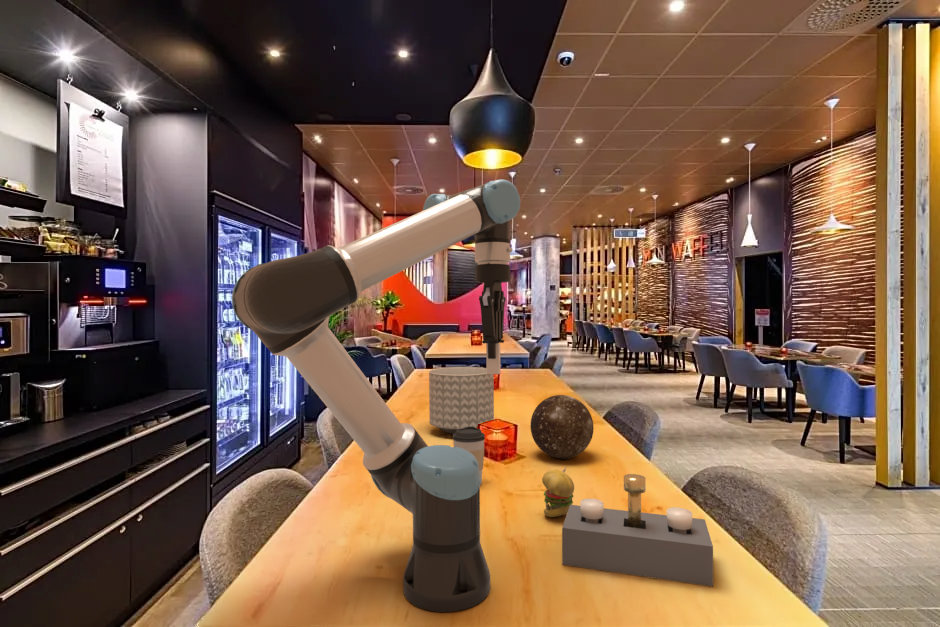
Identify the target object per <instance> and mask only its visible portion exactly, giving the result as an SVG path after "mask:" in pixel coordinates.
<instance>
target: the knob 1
mask: <svg viewBox="0 0 940 627" xmlns="http://www.w3.org/2000/svg"><path fill="white" fill-rule="evenodd" d="M580 506H581V516H582V517H584V518H586V522H590V523H598V519H601V518H603V516H604V510H603V508H604V502H603V501H602V500H600V499H597V498H584V499H581V500H580Z"/></svg>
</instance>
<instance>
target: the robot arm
mask: <svg viewBox="0 0 940 627" xmlns="http://www.w3.org/2000/svg"><path fill="white" fill-rule="evenodd" d="M422 207H423V208H422V211H420V212H417V213H415V214H413V215H411V216H410V215H409V217H406V218H403V219H402V220H399V221H397V222H395V223H391V224H390V225H388V226H385V227H383V228H381V229H378V230H377V231H374V232H372V233H369V234H367V235H365V236H363V237H360V238H358V239H355V240H354V241H351V242H348V243H347V244H345V245H342V246H340V247H336V246H333V245H331V244H327V245H325V246H323V247H321V248H318V249H316V250H313V251H310V252H307V253H303V254H300V255H295V256H292V257H291V256H289V257H285V258H281V259H280V258H279V259H275V260H274V259H273V260H271V261H269V262H268V261H267V262H264V263H259V264H256V265H254V266H252V267H249V268H248V269H247V270H246V271H245V272H244V273H242V274H241V276H240V277H239V278H238V279H237V281H236V283H235V284H234V287H233V290H232V293H231V294H232V295H231V305H232V309H233V311H234V314H235V316H236V317H237V319H238V321H239V322H240V323H241V324H242V325H243V326H245V327H246V328H248V329H249V330H252V332H254V334H255V335H256V336H257V338H258V339H259V340H260V341H261V342H262V343H263V345H264V346H265V347H266V349H267V350H268V351H269V352H270V354H272V355H273V356H278V357H279V356H280V357H286V358H287V359H288V360H289V362H290V363H291V364H292V366H294V368H295V370H297V372H298V373H299V374H300V375H301V377H302V378H303V379H304V381H305V382H306V383H307V384H308V385H309V387H310V388H311V389H312V390H313V392H314V393H315V394H316V395H317V396H318V398H319V399H320V400H321V401H322V402H323V404H324V405H325V407H326V408H327V409H328V410H329V412H330V413H331V414H333V416H334V417H335V418H336V420H337V421H338V423H340V425H341V427H343V428H344V429H345V431H346V432H347V433H348V434H349V435H350V437H351V439H352V440H353V441H354V443H356V444H357V446H358V448H360V449H361V451H362V452H363V458H362V465H363V466H364V468H365V469H366V470H367V471H368V473H369V474H370V477H371V479H372V482H373V484H374V485H375V487H376V489H378V491H380V493H381V494H382V495H384V496H386V497H387V498H389V499H390V500H392V501H394V502H396V503H397V504H399V505H400V506H402V507H403V508H404V509H405V510H406V511H408V512H409V513H411V515H412V547H411V551H410V553H409V556H408V560H407V563H406V565H405V570H404V572H403V577H402V586H403V588H402V589H403V591H402V592H403V595H404V597H405V599H406V601H408V602H409V603H411V604H412V605H414V606H416V607H417V608H420V609H423V610H426V611H430V612H438V613H450V612H451V613H452V612H458V611H459V612H460V611H463V610H467V609H469V608H473V607H475V606H477V605H478V604H480V603H482V602H483V601H484V600H485V599H486V598H487V596H489V594H490V591H491V572H490V569H489V566H488V563H487V559H486V557H485V553H484V551H483V548H482V545H481V532H480V531H481V512H480V510H481V507H480V506H481V502H480V501H481V500H480V499H481V498H480V496H481V494H480V493H481V492H480V491H481V490H480V488H481V485H480V483H481V479H480V473H479V464H478V461H477V459H476V458H475V456H474V455H473V454H471V453H470V452H468V451H467V450H465V449H462V448H459V447H454V446H451V445H449V444H448V445H447V444H434V445H433V444H432V445H428V444H427V443H426V441H425V440H424V439H423V437H422V436H421V435H420V434H419V431H417V430H416V428H415V427H414V426H413V425H412V424H411V423H408V422H405V423H404V422H402V423H401V422H400V421H399V419H398V417H397V416H396V415H395V414H394V412H393V411H392V410H391V408H390V407H389V406H388V405H387V404H386V402H385V400H384V399H383V398H382V397H381V395H380V394H379V392H377V390H376V389H375V387H374V386H373V385H372V383H371V382H370V381H369V378H367V376H366V375H365V374H364V372H363V371H362V370H361V369H360V367H359V366H358V364H356V362H355V361H354V359H353V358H352V357H351V356H350V354H349V353H348V351H347V350H346V349H345V347H344V345H342V344H341V342H340V340H338V338H337V336H336V335H335V334H334V333H333V331H332V330H331V329H330V327H329V321H330V316H332V315H334V314H337V312H339V311H341V310H343V309H345V308H346V307H348V306H350V305H352V304H354V303H356V302H358V300H359V298H360V294H361V292H363V291H366V290H367V289H369V288H371V287H373V286H375V285H377V284H379V283H381V282H383V281H385V280H387V279H389V278H391V277H393V276H395V275H397V274H399V273H401V272H402V271H404V270H406V269H409V268H410V267H413V266H414V265H417V264H418V263H421V262H423V261H424V260H427V259H428V258H430V257H432V256H434V255H436V254H438V253H441V252H442V251H444V250H446V249H448V248H451V247H453V246H454V245H456V244H458V243H460V242H462V241H463V240H466V239H468V238H470V237H472V236H474V241H475V242H474V243H475V244H474V261H475V262H474V263H476V264H477V265H476V266H475V274H474V275H475V276H474V277H475V282H476V283H479V284H483V289H482V291H481V295H479V296H478V297H479V298H478V300H479V306H480V314H481V315H480V316H481V327H482V339H483V340H482V341H481V343H482V344H485V345H486V350H485V351H486V366H485V368H487V374H494V375H500V374H501V344H504V343H505V339H504V323H505V321H504V320H505V307H506V301H507V298H506V296H505V293H504V290H503V287H502V283H503V284H504V283H508V282H510V281H511V266H510V265H509V263H510V262H511V254H510V253H512V252H513V248H512V247H510V246H511V220H514V219H515V217H517V215H518V213H519V212H520V209H521V196H520V192H519V191H518V188H517V187H516V186H515V184H514V183H513V182H511V181H510V180H507V179H503V178H502V179H496V180H490V181H488V182H486V183H484V184H481V185H478V186H475V187H472V188H469V189H466V190H462V191H460V192H457V193H454V194H445V193H432V194H430V195H429V196H428V197H427V198H426V200H425V202H424V203H423V206H422Z"/></svg>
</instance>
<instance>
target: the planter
mask: <svg viewBox="0 0 940 627" xmlns="http://www.w3.org/2000/svg"><path fill="white" fill-rule="evenodd" d="M428 375H429V376H428V381H429V382H428V387H429V389H428V391H429V392H428V395H429V396H428V398H429V400H428V401H429V406H428V407H429V408H428V409H429V414H428V415H429V424H430V425H431V426H433V427H435V428H439V430H441V431H442V432H445V433H447V434H449V435H453V434H454V433H456V431H457V430H458V429H462V428H466V427H468V426H471V427H475V428H477V426H478V424H480V423H483V422H486V421H490V420H494V421H495V406H494V405H495V399H494V398H495V396H494V395H495V393H494V392H495V391H494V389H495V388H494V386H495V385H494V380H495V379H494V375H495V374H487V367H475V366H473V367H472V366H453V367H441V368H440V367H439V368H434V369H431V370H429V372H428Z"/></svg>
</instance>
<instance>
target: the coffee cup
mask: <svg viewBox="0 0 940 627" xmlns="http://www.w3.org/2000/svg"><path fill="white" fill-rule="evenodd" d="M485 436H486V435H485V433H484V432H482V430H480V429H477V428H475V427H471V426H468V427H466V428H462V429H458V430H457V431H456V433H454V434H452V442H453V443H452V444H453V447H459V448H462V449H465V450H467V451H468V452H470V453H471V454H473V455H474V456H475V458H476V459H477V461H478V464H479V473H480V479H481V483H480V486H481V485H482V482H483V481H482V480H483V469H484V462H485V460H484V458H485V439H486V437H485Z"/></svg>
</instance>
